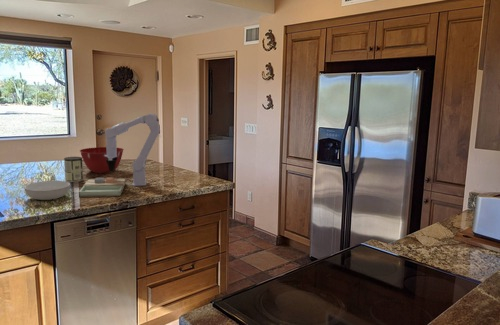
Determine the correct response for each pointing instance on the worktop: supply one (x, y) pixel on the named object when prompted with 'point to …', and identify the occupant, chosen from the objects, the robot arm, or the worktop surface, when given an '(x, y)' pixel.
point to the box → (100, 191)
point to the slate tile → (99, 180)
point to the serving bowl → (47, 189)
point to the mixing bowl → (99, 159)
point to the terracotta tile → (110, 180)
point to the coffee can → (73, 169)
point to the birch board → (117, 183)
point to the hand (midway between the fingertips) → (112, 170)
